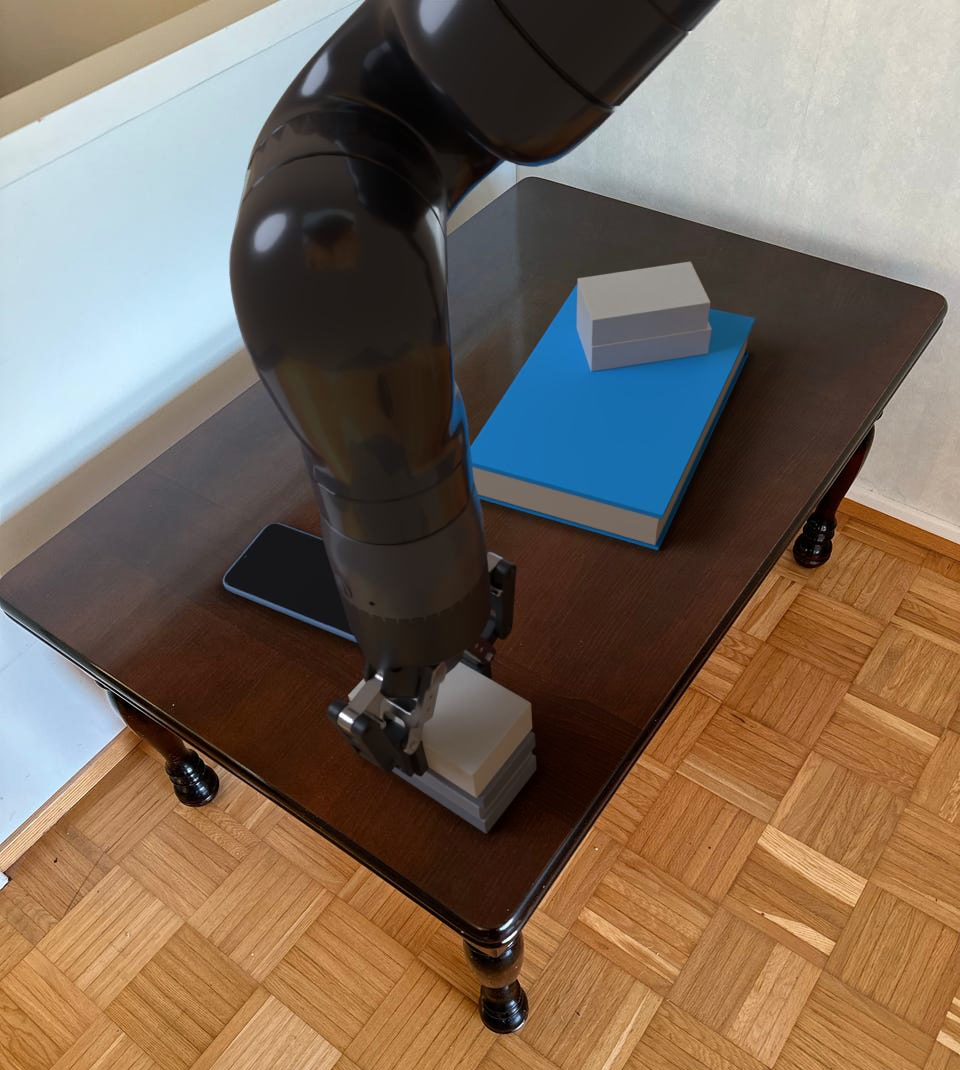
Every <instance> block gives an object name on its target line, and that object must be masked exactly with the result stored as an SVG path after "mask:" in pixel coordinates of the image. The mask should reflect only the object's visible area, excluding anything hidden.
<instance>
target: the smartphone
mask: <svg viewBox="0 0 960 1070" xmlns="http://www.w3.org/2000/svg"><path fill="white" fill-rule="evenodd" d="M222 584H223V586H224V588H225V589H226V590H227V591H229V592H230V593H232V594H234V595H238V596H240V597H243V598H245V599H248V600H249V601H252V602H255V603H257V604H260V605H263V606H264V607H267V608H270V609H273V610H275V611H278V612H279V613H282V614H285V615H287V616H290V617H292V618H295V619H297V620H299V621H301V622H304V623H307V624H310V625H312V626H315V627H317V628H319V629H322V630H324V631H327V632H328V633H329V632H330V633H332V634H334V635H337V636H340V637H342V638H344V639H347V640H349V641H352V642H354V643H356V644H358V643H357V641H356V639H355V637H354V635H353V633H352V631H351V629H350V626H349V623H348V619H347V616H346V613H345V610H344V607H343V604H342V600H341V597H340V594H339V591H338V588H337V584H336V581H335V578H334V574H333V571H332V568H331V565H330V562H329V559H328V556H327V552H326V549H325V546H324V542H323V537H319V536H316V535H313V534H311V533H308V532H305V531H302V530H301V529H297V528H294V527H292V526H289V525H286V524H283V523H280V522H272V523H269V524H267V525H266V526H265V527H264V528H263V529H261V531H260V532H259V533H258V534H257V535H256V537H255V538H254V539H253V540H252V542H251V543H250V544H249V545H248V546H247V547H246V549H244V550H243V552H242V554H241V555H240V556H239V557H238V558H237V559H236V561H234V563H233V564H232V565H231V567H230V568H229V569H228V570H227V571H226V572H225V574H224V575H223V578H222Z"/></svg>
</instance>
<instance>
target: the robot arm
mask: <svg viewBox="0 0 960 1070" xmlns="http://www.w3.org/2000/svg"><path fill="white" fill-rule="evenodd" d="M723 1H724V0H364V1H363V2H362V3H360V5H359V6H358V7H357V8H356V9H355V11H353V12H352V14H350V15H349V16H348V17H347V19H346V20H345V21H344V22H343V23H342V24H341V25H340V26H339V27H338V28H337V29H336V30H335V31H334V32H333V33H332V35H331V36H330V37H328V39H326V41H325V42H324V43H323V44H322V45H321V46H320V47H319V48H318V49H317V50H316V52H315V53H314V54H313V55H312V56H311V57H310V59H309V60H308V61H307V62H306V63H305V65H303V67H302V68H301V70H300V71H299V72H298V73H297V75H296V76H295V77H294V78H293V80H292V81H291V83H290V84H289V85H288V86H287V88H286V89H285V91H284V92H283V93H282V94H281V96H280V98H279V99H278V101H277V102H276V104H275V106H274V107H273V108H272V110H271V112H270V113H269V115H267V116H268V117H267V118H266V120H265V122H264V123H263V125H262V126H261V129H260V131H259V133H258V135H257V136H256V139H255V142H254V143H253V147H252V149H251V151H250V155H249V158H248V163H247V167H246V172H245V175H244V182H243V186H242V191H241V196H240V200H239V205H238V209H237V214H236V219H235V223H234V228H233V233H232V237H231V242H230V248H229V258H228V259H229V260H228V272H229V273H228V274H229V275H228V276H229V284H230V285H229V286H230V293H231V300H232V304H233V309H234V314H235V318H236V321H237V326H238V328H239V329H238V330H239V332H240V336H241V339H242V341H243V345H244V347H245V350H246V353H247V356H248V357H249V360H250V362H251V364H252V366H253V368H254V370H255V373H256V374H257V376H258V378H259V380H260V381H261V384H262V385H263V386H264V389H265V390H266V392H267V393H268V396H269V397H270V399H271V400H272V402H273V404H274V405H275V407H276V409H277V410H278V412H279V413H280V415H281V417H282V419H283V420H284V422H285V423H286V425H287V426H288V428H289V429H290V430H291V432H292V433H293V434H294V436H295V437H296V438H297V440H298V441H299V446H300V450H301V455H302V458H303V462H304V465H305V469H306V471H307V475H308V478H309V482H310V485H311V488H312V491H313V495H314V498H315V501H316V504H317V507H318V511H319V518H320V519H319V520H320V530H321V536H322V539H323V542H324V546H325V549H326V552H327V556H328V559H329V562H330V565H331V568H332V571H333V574H334V578H335V581H336V584H337V588H338V591H339V594H340V597H341V600H342V604H343V607H344V610H345V613H346V616H347V619H348V623H349V626H350V629H351V631H352V633H353V635H354V637H355V639H356V641H357V643H356V644H358V646H359V648H360V649H361V651H362V653H363V655H364V657H365V658H364V659H365V660H364V666H363V672H362V675H363V679H364V680H365V682H366V683H365V684H364V686H363V687H362V688H361V689H360V691H359V692H358V693H357V695H356V696H355V697H354V698H353V700H352V701H350V700H349V701H345V700H344V699H342V698H340V697H338V698H336V699H334V700H333V701H332V702H331V703H330V705H329V706H328V707H327V710H326V718H327V719H328V720H329V722H330V723H331V725H332V726H333V728H335V729H336V731H337V732H338V733H339V734H340V736H341V737H342V738H343V740H344V741H345V742H346V744H347V745H348V747H350V749H351V750H352V751H353V752H354V753H356V754H358V755H359V756H360V757H361V758H363V759H365V760H366V761H368V762H369V763H371V764H372V765H374V766H375V767H377V768H378V769H380V770H381V771H383V772H384V773H386V774H389V773H391V772H393V771H392V770H393V769H394V768H395V767H396V768H397V769H399V770H400V771H402V772H403V773H405V774H406V775H408V776H410V777H412V776H413V775H414V774H416V775H418V776H420V777H422V776H423V774H424V773H425V772H426V771H427V770H428V768H429V767H428V763H427V759H426V755H425V751H424V747H423V741H422V740H421V735H422V730H423V725H424V723H426V722H427V721H429V720H430V719H431V718H432V717H433V714H434V709H435V704H436V700H437V695H438V690H439V685H440V684H441V683H442V682H443V681H444V680H445V676H446V674H448V673H449V672H450V671H451V670H452V669H453V668H454V667H455V666H456V665H457V664H458V663H459V662H461V663H463V664H464V665H466V666H468V667H469V668H471V669H473V670H475V671H476V672H478V673H480V674H481V675H484V676H485V677H487V678H489V679H491V680H492V681H493V679H492V678H493V673H492V664H491V663H492V662H493V660H494V659H495V657H496V653H497V650H496V648H495V647H494V644H495V643H496V642H497V640H498V639H500V640H501V641H505V640H506V639H507V638H508V637H509V635H510V634H511V632H512V629H513V627H514V626H513V624H514V609H515V597H516V595H515V594H516V581H517V565H516V564H515V563H514V562H511V561H509V560H508V559H506V558H504V557H502V556H500V555H499V554H497V553H495V552H493V551H491V550H488V549H487V541H486V540H487V539H486V530H485V529H486V528H485V521H484V514H483V508H482V503H481V499H479V495H478V492H477V489H476V486H475V483H474V477H473V468H472V459H471V450H470V447H471V441H470V434H469V424H468V417H467V412H466V407H465V404H464V400H463V395H462V393H461V390H460V387H459V385H458V382H457V380H456V378H455V372H454V358H453V346H452V345H453V344H452V328H451V310H450V309H451V308H450V307H451V306H450V290H449V289H450V288H449V266H448V265H449V260H448V225H447V223H448V221H449V220H450V219H451V217H452V215H453V214H454V212H455V211H456V209H458V207H459V206H460V204H461V203H462V202H463V200H465V198H467V196H468V195H469V194H470V193H471V192H472V191H473V190H474V189H475V188H476V187H477V186H478V185H479V184H480V183H482V182H483V181H484V180H485V179H486V178H488V177H489V175H491V174H492V173H493V172H495V171H496V170H497V169H498V168H499V167H500V166H501V165H502V164H504V163H505V162H508V163H511V164H514V165H517V166H522V167H529V168H538V167H543V166H545V165H551V164H553V163H555V162H558V161H559V160H561V159H562V158H564V157H566V156H567V155H569V154H570V153H572V152H573V151H574V150H575V149H577V148H578V147H579V146H580V145H581V144H582V143H584V142H585V141H586V140H587V139H588V138H590V136H592V135H593V134H594V133H595V132H596V131H597V130H598V129H599V128H600V127H601V126H602V125H603V124H605V122H606V121H608V119H609V118H611V117H612V116H613V115H614V114H615V112H616V111H617V110H618V107H620V106H622V105H623V104H624V103H625V102H626V101H627V100H628V98H630V97H631V95H633V93H634V92H635V91H636V90H637V89H638V88H639V87H640V86H641V85H642V84H643V83H644V82H645V81H646V80H647V79H648V78H649V77H650V76H651V75H652V74H653V73H654V72H655V71H656V70H657V69H658V68H659V66H660V65H662V64H663V63H664V62H665V60H666V59H667V58H669V56H670V55H671V54H672V53H673V52H674V51H675V50H676V49H677V48H678V47H679V46H680V45H681V44H682V43H683V42H684V41H685V40H686V39H687V38H688V37H689V36H690V35H691V33H692V32H694V31H695V30H696V29H697V28H698V27H699V26H700V25H701V24H702V23H703V22H704V21H705V20H706V19H707V17H708V16H709V15H711V14H712V12H713V11H714V10H715V9H716V8H718V6H719V5H720V4H721V3H722V2H723ZM416 698H417V701H416V700H414V699H416ZM396 717H398V718H399V719H401V720H402V721H403V722H404V724H405V727H403V726H402V725H400V724H399V723H397V722H395V718H396Z"/></svg>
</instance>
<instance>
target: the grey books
mask: <svg viewBox="0 0 960 1070" xmlns="http://www.w3.org/2000/svg"><path fill="white" fill-rule="evenodd" d="M534 748H536V733H534V732H533V731H531V730H530V732H529V733H528V734H527V735H526V737H525V738H524V739H523V740H522V742H521V743H520V744H519V746H518V747H517V748H516V749H515V751H514V752H513V753H512V754H511V756H510V757H509V758H508V759H507V761H506V762H505V763H504V764H503V766H502V767H501V768H500V769H499V771H498V772H497V773H496V774H495V776H494V777H493V778H492V780H491V781H490V782H489V783H488V785H487V786H486V787H485V788H484V790H483V791H482V792H481V793H480V795H479V796H478V797H477V798H476V797H474V796H472V795H471V794H469V793H468V792H466V791H465V790H463V789H462V788H460V787H459V786H457V785H456V784H454V783H452V782H451V781H449V780H448V779H446V778H445V777H443V776H442V775H440V774H439V773H437V772H436V771H434V770H432V769H431V768H428V770H427V771H426V772H425V773H424V774H423V776H422V777H420V776H418V775H416V774H414V775H413V776H412V777H410V776H408V775H406V774H405V773H403V772H402V771H400V770H399V769H397V768H396V767H395V768H394V769H393V770H392V771H391V772H392V773H394V774H395V775H397V776H398V777H400V778H401V779H403V780H405V781H406V782H407V783H409V784H410V785H412V786H413V787H415V788H417V790H419V791H421V792H422V793H424V794H425V795H427V796H428V797H430V798H432V799H433V800H435V801H436V802H437V803H439V804H440V805H442V806H443V807H445V808H446V809H448V810H449V811H451V812H452V813H454V814H455V815H457V816H458V817H461V818H462V819H463V820H465V821H466V822H467V823H469V824H470V825H473V827H475V828H476V829H478V830H480V831H481V832H483V833H484V834H488V833H489V832H490V831H491V829H492V828H493V826H495V824H496V822H497V821H498V820H499V818H500V817H501V816H502V815H503V814H504V813H505V811H506V810H507V808H508V807H509V806H510V804H511V803H512V802H513V801H514V799H515V798H516V796H517V795H518V794H519V793H520V792H521V790H522V789H523V788H524V786H525V785H526V783H527V782H528V781H529V780H530V778H531V777H532V776H533V775H534V774H535V772H536V771H537V756H536V755H534V754H533V750H534Z"/></svg>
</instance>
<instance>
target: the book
mask: <svg viewBox="0 0 960 1070" xmlns="http://www.w3.org/2000/svg"><path fill="white" fill-rule="evenodd" d="M577 285H578V282H577V283H576V285H575V286H574V288H573V289H572V291H571V292H570V294H569V296H568V297H567V299H566V300H565V302H564V303H563V305H562V307H561V308H560V309H559V311H558V312H557V314H556V316H555V317H554V318H553V320H552V321H551V323H550V324H549V326H548V328H547V329H546V331H545V333H544V334H543V335H542V337H541V339H540V340H539V341H538V343H537V344H536V346H535V347H534V349H533V351H532V352H531V354H530V355H529V357H528V359H527V360H526V361H525V363H524V365H523V366H522V367H521V369H520V370H519V372H518V374H517V375H516V377H515V378H514V380H513V381H512V383H511V384H510V386H509V387H508V389H507V391H506V392H505V394H504V395H503V397H502V398H501V399H500V400H499V403H498V404H497V406H496V407H495V408H494V410H493V412H492V413H491V415H490V417H489V418H488V419H487V421H486V422H485V424H484V425H483V427H482V429H481V430H480V432H479V433H478V435H477V436H476V438H475V439H474V441H473V442H472V444H470V450H471V459H472V468H473V477H474V483H475V486H476V489H477V492H478V495H479V499H480V500H483V501H486V502H489V503H493V504H496V505H499V506H503V507H507V508H510V509H513V510H517V511H520V512H524V513H527V514H531V515H534V516H537V517H541V518H545V519H548V520H551V521H554V522H558V523H562V524H565V525H568V526H573V527H576V528H578V529H583V530H586V531H590V532H593V533H597V534H600V535H603V536H607V537H611V538H614V539H617V540H621V541H624V542H626V543H627V542H628V543H631V544H635V545H638V546H642V547H645V548H648V549H652V550H656V551H659V550H660V547H661V545H662V543H663V541H664V539H665V537H666V534H667V533H668V530H669V528H670V526H671V523H672V521H673V518H674V517H675V516H676V513H677V510H678V508H679V506H680V504H681V501H682V499H683V497H684V495H685V493H686V492H687V489H688V487H689V485H690V482H691V481H692V478H693V475H694V474H695V472H696V469H697V467H698V465H699V462H700V461H701V459H702V456H703V454H704V452H705V450H706V447H707V446H708V444H709V441H710V439H711V436H712V435H713V432H714V430H715V428H716V426H717V424H718V421H719V419H720V417H721V415H722V413H723V411H724V408H725V406H726V404H727V402H728V399H729V397H730V395H731V393H732V391H733V389H734V387H735V385H736V382H737V381H738V378H739V375H740V373H741V372H742V370H743V367H744V365H745V363H746V361H747V359H748V357H749V351H746V349H747V345H748V344H747V343H748V339H749V335H750V333H751V331H752V329H753V326H754V325H755V321H756V317H753V316H746V315H742V314H737V313H734V312H733V313H732V312H727V311H722V310H718V309H713V308H710V309H709V316H708V322H709V325H710V327H711V329H712V330H711V336H710V343H709V349H708V354H703V355H697V356H690V357H684V358H677V359H671V360H664V361H657V362H651V363H644V364H638V365H631V366H625V367H618V368H611V369H605V370H598V371H591V370H590V367H589V364H588V361H587V358H586V355H585V352H584V349H583V346H582V343H581V340H580V337H579V334H578V331H577Z"/></svg>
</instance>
